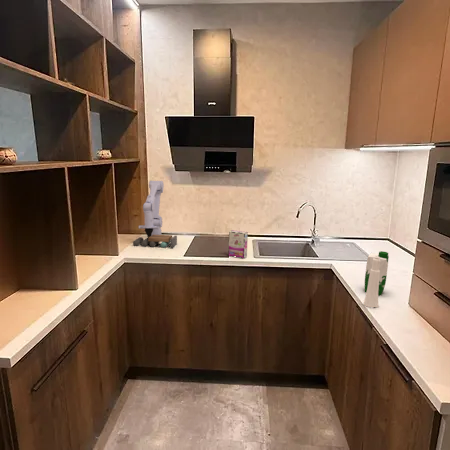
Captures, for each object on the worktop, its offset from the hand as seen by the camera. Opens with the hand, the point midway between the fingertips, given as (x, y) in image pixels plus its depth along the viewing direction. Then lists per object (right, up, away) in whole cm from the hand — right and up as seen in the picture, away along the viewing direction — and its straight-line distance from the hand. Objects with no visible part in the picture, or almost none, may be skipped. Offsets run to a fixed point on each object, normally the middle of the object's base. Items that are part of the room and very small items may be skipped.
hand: (149, 238), depth 232 cm
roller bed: (+2, -4, +1) cm, 5 cm away
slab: (+8, -1, -1) cm, 8 cm away
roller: (+11, -5, -1) cm, 12 cm away
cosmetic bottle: (+117, -25, -87) cm, 148 cm away
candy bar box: (+61, -11, -21) cm, 66 cm away
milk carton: (+125, -23, -73) cm, 146 cm away
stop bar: (+17, -5, -1) cm, 18 cm away
